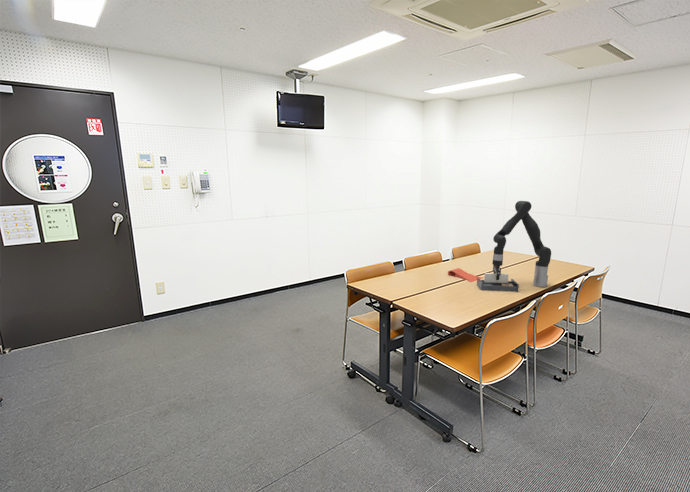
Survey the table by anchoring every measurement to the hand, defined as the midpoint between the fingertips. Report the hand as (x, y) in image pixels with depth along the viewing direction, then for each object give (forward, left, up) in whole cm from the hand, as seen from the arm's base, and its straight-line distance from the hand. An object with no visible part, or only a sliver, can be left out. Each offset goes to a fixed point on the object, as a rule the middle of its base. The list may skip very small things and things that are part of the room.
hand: (496, 278), depth 285 cm
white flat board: (0, 0, -7) cm, 7 cm away
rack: (0, +4, -7) cm, 8 cm away
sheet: (+19, -25, -8) cm, 32 cm away
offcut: (-7, +7, -5) cm, 11 cm away
